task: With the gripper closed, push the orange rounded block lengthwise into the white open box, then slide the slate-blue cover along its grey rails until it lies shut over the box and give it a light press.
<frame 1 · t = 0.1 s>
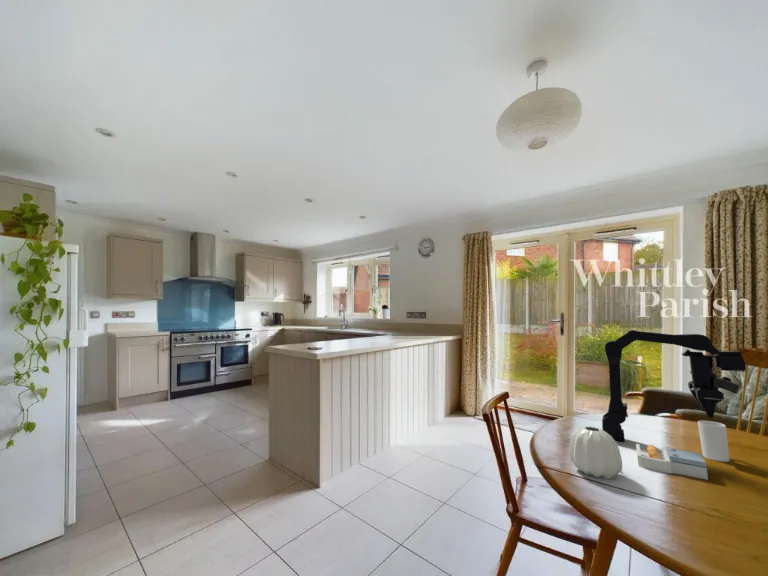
hand: (707, 414, 110), 15 cm above the table, fingers open, 9 cm apart
vase: (596, 473, 99), on the table
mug: (716, 459, 107), on the table
orange rounded block: (653, 456, 108), point 1 cm above the table, touching white open box
white open box: (652, 462, 105), on the table
cover: (685, 456, 98), point 5 cm above the table, slide at 8.0 cm
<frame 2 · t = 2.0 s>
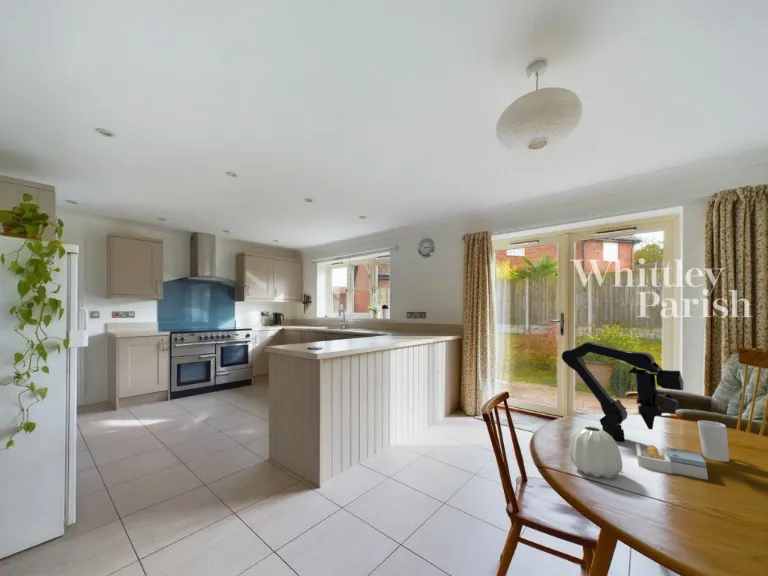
hand: (650, 429, 116), 7 cm above the table, fingers closed
nothing on the table moved.
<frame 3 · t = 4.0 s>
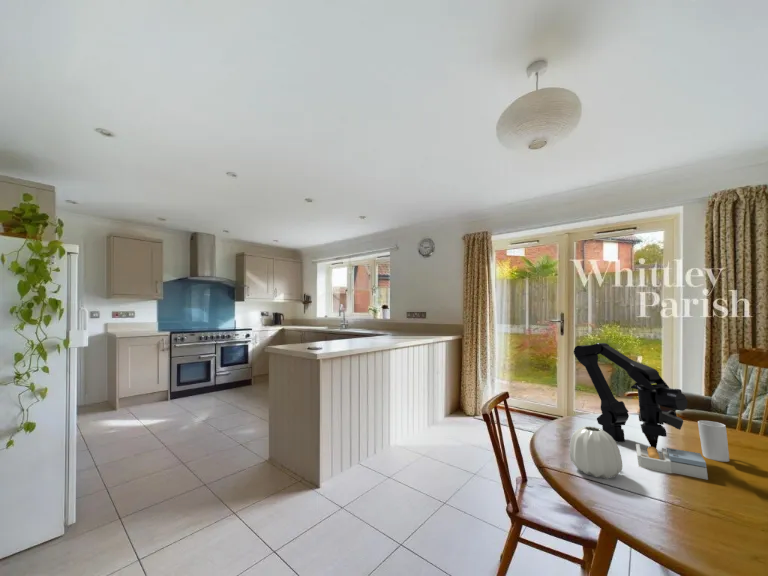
hand: (654, 448, 111), 2 cm above the table, fingers closed
orange rounded block: (653, 457, 107), point 1 cm above the table, touching white open box, gripper
everything else where it was.
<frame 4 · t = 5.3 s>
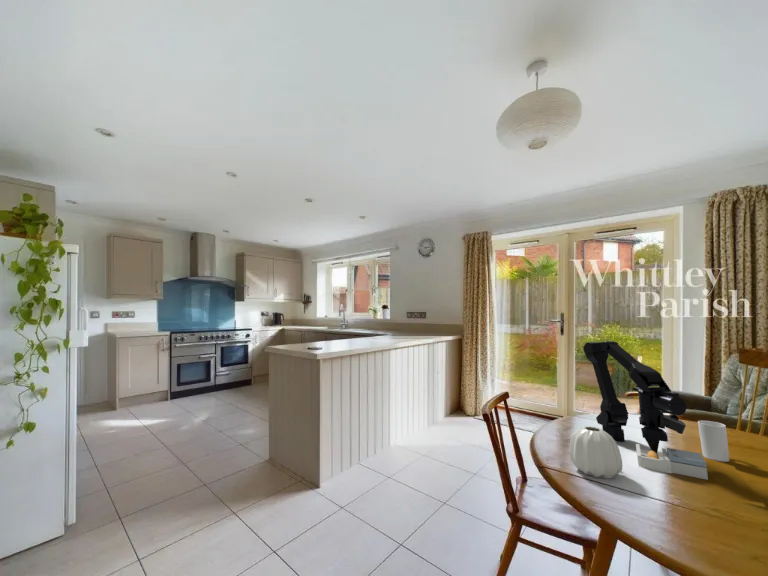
hand: (654, 453, 107), 2 cm above the table, fingers closed
orange rounded block: (654, 462, 103), point 1 cm above the table, touching white open box, gripper
everything else where it was.
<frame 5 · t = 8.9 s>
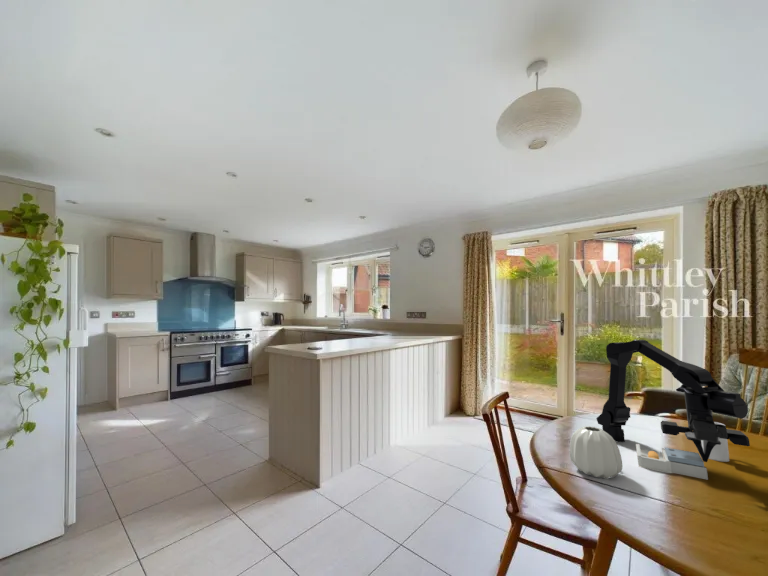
hand: (705, 461, 96), 5 cm above the table, fingers closed
orange rounded block: (654, 462, 103), point 1 cm above the table, touching white open box
cover: (683, 456, 98), point 5 cm above the table, slide at 7.5 cm, touching gripper
everything else where it was.
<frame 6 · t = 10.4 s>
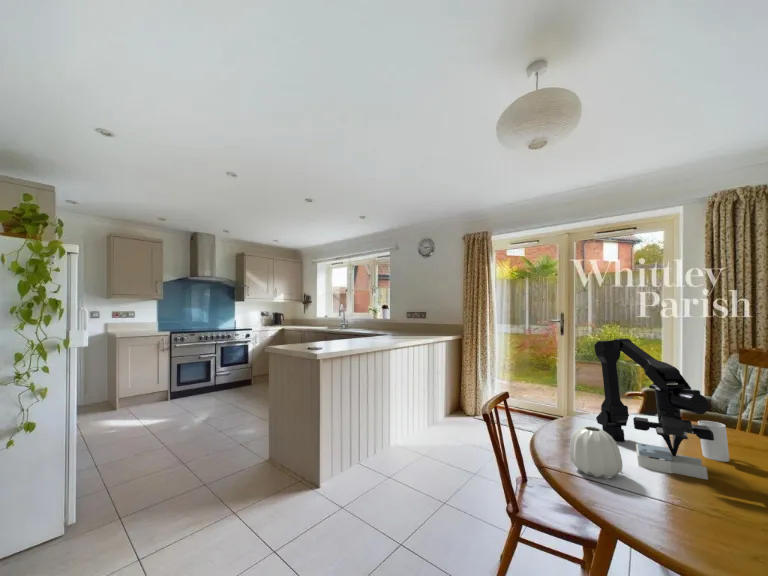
hand: (673, 455, 100), 5 cm above the table, fingers closed
cover: (653, 451, 103), point 5 cm above the table, slide at 0.5 cm, touching gripper
everything else where it was.
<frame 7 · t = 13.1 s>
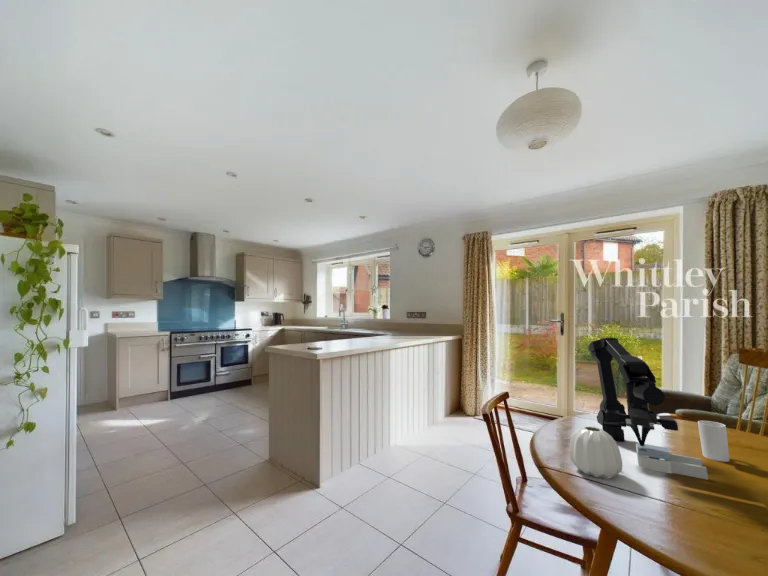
hand: (641, 445, 104), 6 cm above the table, fingers closed
cover: (653, 450, 103), point 5 cm above the table, slide at 0.3 cm
everything else where it was.
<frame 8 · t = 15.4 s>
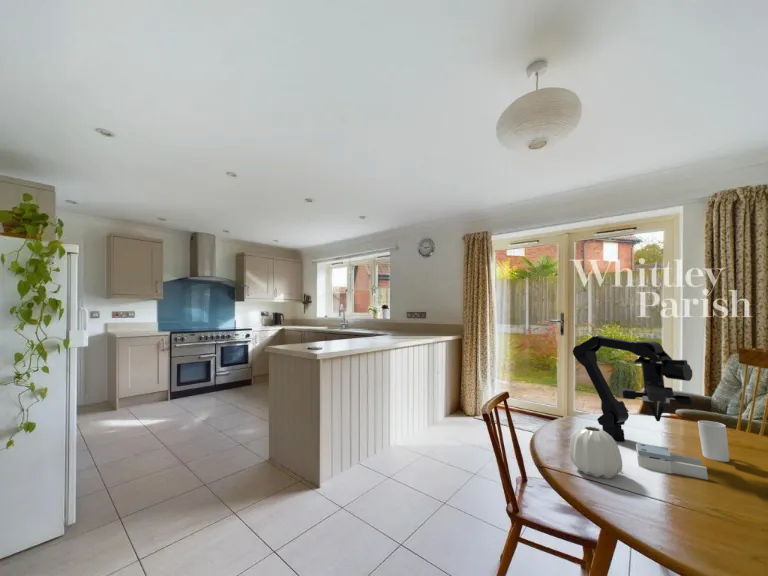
hand: (657, 421, 111), 12 cm above the table, fingers closed
nothing on the table moved.
at the end: cover slide at 0.3 cm; orange rounded block inside the target area (1.1 cm from its centre), point 0.8 cm above the table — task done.
